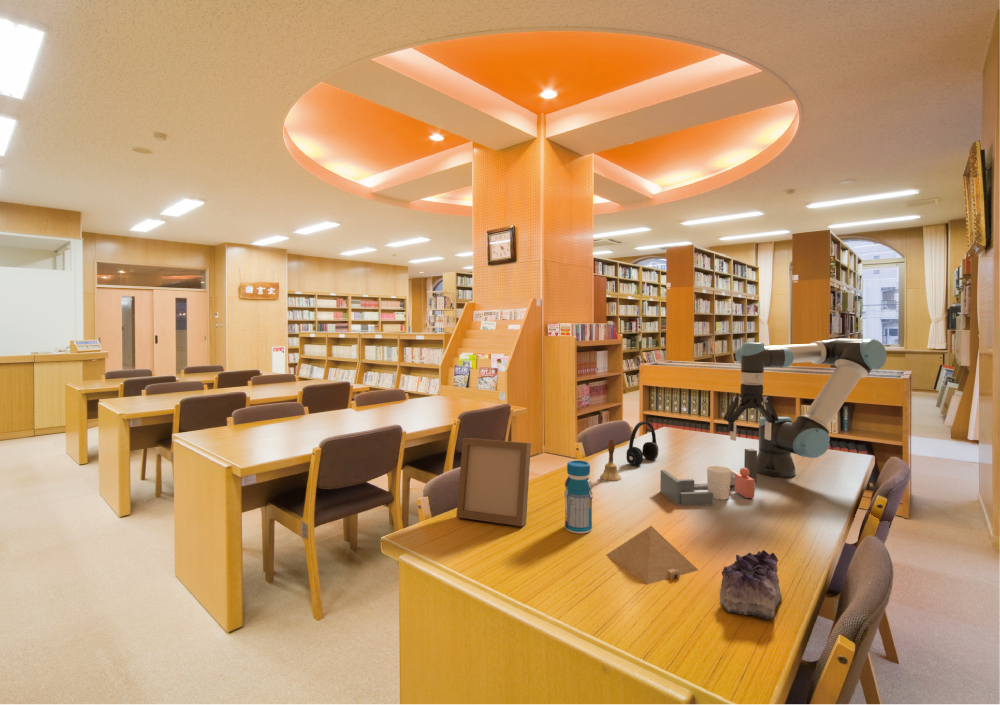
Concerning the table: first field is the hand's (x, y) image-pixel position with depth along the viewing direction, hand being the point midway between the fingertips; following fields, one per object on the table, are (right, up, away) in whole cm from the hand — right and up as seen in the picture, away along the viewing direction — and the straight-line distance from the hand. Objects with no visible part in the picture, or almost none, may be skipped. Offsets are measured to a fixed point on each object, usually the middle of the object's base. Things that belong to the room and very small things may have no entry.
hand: (750, 439), depth 179 cm
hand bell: (-50, -18, +12) cm, 54 cm away
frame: (-28, -19, -10) cm, 35 cm away
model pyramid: (-56, -22, -57) cm, 83 cm away
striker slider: (-4, -18, -5) cm, 19 cm away
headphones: (-30, -17, +35) cm, 49 cm away
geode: (-38, -22, -73) cm, 86 cm away
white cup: (-16, -19, -10) cm, 27 cm away
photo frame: (-96, -20, -26) cm, 101 cm away
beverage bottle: (-71, -20, -36) cm, 82 cm away
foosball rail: (-15, -18, 0) cm, 23 cm away
